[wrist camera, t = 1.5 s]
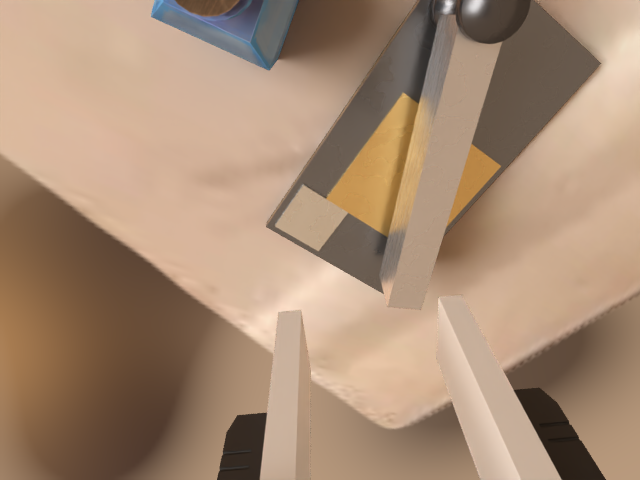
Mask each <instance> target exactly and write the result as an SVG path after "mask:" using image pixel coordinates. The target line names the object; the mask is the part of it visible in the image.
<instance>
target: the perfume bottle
mask: <svg viewBox="0 0 640 480" xmlns="http://www.w3.org/2000/svg"><path fill="white" fill-rule="evenodd" d="M298 2H299V0H154V5H153V9H152V14H151V17H153V18H155V19H157V20H159V21H162V22H164V23H166V24H168V25H170V26H173V27H175V28H177V29H179V30H181V31H183V32H186V33H188V34H190V35H192V36H194V37H197V38H199V39H201V40H203V41H205V42H208V43H210V44H212V45H214V46H216V47H219V48H221V49H223V50H225V51H227V52H229V53H232V54H234V55H236V56H238V57H240V58H243V59H245V60H247V61H249V62H251V63H254V64H256V65H258V66H260V67H262V68H265V69H267V70H270V69H271V68H272V66H273V65H274V64H275V62H276V61H277V60H278V57H279V54H280V52H281V49H282V46H283V43H284V41H285V38H286V35H287V32H288V30H289V27H290V24H291V21H292V18H293V16H294V13H295V10H296V7H297V5H298Z"/></svg>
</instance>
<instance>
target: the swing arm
mask: <svg viewBox="0 0 640 480" xmlns="http://www.w3.org/2000/svg"><path fill="white" fill-rule="evenodd" d="M530 3H531V0H457V3H456V9H455V15H440V16H439V20H438V24H437V29H436V33H435V37H434V42H433V46H432V50H431V55H430V59H429V63H428V67H427V72H426V76H425V80H424V85H423V89H422V93H421V98H420V102H419V106H418V111H417V115H416V119H415V123H414V128H413V132H412V136H411V141H410V145H409V149H408V154H407V158H406V162H405V166H404V171H403V175H402V179H401V184H400V188H399V192H398V197H397V201H396V205H395V209H394V214H393V218H392V222H391V227H390V231H389V235H388V240H387V244H386V248H385V252H384V257H383V261H382V265H381V270H380V274H379V277H380V280H381V284H382V288H383V292H384V296H385V300H386V304H387V307H394V308H404V309H415V310H421V309H422V305H423V302H424V299H425V295H426V292H427V289H428V285H429V282H430V279H431V276H432V272H433V269H434V266H435V262H436V259H437V256H438V252H439V249H440V246H441V242H442V239H443V236H444V233H445V229H446V226H447V223H448V219H449V216H450V213H451V209H452V206H453V203H454V199H455V196H456V193H457V190H458V186H459V183H460V180H461V176H462V173H463V170H464V166H465V163H466V160H467V156H468V153H469V150H470V147H471V143H472V140H473V137H474V133H475V130H476V127H477V123H478V120H479V117H480V113H481V110H482V107H483V104H484V100H485V97H486V94H487V90H488V87H489V84H490V80H491V77H492V74H493V70H494V67H495V64H496V61H497V57H498V54H499V51H500V47H501V44H502V41H504V40H506V39H508V38H509V37H511V36H512V35H513V34H515V33H516V32H517V31H518V30H519V28H520V27H521V26H522V24H523V23H524V21H525V19H526V17H527V15H528V12H529V8H530Z"/></svg>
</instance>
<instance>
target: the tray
mask: <svg viewBox="0 0 640 480" xmlns="http://www.w3.org/2000/svg"><path fill="white" fill-rule="evenodd" d="M456 3H457V0H417V2H416V3H415V5H414V6H413V8H412V9H411V11H410V12H409V14H408V15H407V17H406V18H405V20H404V21H403V23H402V24H401V25H400V27H399V28H398V30H397V31H396V33H395V34H394V36H393V37H392V39H391V40H390V42H389V43H388V45H387V46H386V48H385V49H384V51H383V52H382V53H381V55H380V56H379V58H378V59H377V61H376V62H375V64H374V65H373V67H372V68H371V70H370V71H369V73H368V74H367V76H366V77H365V78H364V80H363V81H362V83H361V84H360V86H359V87H358V89H357V90H356V92H355V93H354V95H353V96H352V98H351V99H350V101H349V102H348V104H347V105H346V106H345V108H344V109H343V111H342V112H341V114H340V115H339V117H338V118H337V120H336V121H335V123H334V124H333V126H332V127H331V129H330V130H329V132H328V133H327V134H326V136H325V137H324V139H323V140H322V142H321V143H320V145H319V146H318V148H317V149H316V151H315V152H314V154H313V155H312V157H311V158H310V160H309V161H308V162H307V164H306V165H305V167H304V168H303V170H302V171H301V173H300V174H299V176H298V177H297V179H296V180H295V182H294V183H293V185H292V186H291V188H290V189H289V190H288V192H287V193H286V195H285V196H284V198H283V199H282V201H281V202H280V204H279V205H278V207H277V208H276V210H275V211H274V213H273V214H272V216H271V217H270V218H269V220H268V221H267V224H266V227H267V228H269V229H271V230H273V231H274V232H276V233H278V234H280V235H281V236H283V237H285V238H287V239H288V240H290V241H292V242H294V243H295V244H297V245H299V246H301V247H302V248H304V249H306V250H308V251H309V252H311V253H313V254H315V255H316V256H318V257H320V258H322V259H323V260H325V261H327V262H329V263H330V264H332V265H334V266H336V267H337V268H339V269H341V270H343V271H344V272H346V273H348V274H350V275H351V276H353V277H355V278H357V279H358V280H360V281H362V282H364V283H365V284H367V285H369V286H371V287H372V288H374V289H376V290H378V291H379V292H381V293H383V294H384V292H383V288H382V284H381V280H380V277H379V274H380V270H381V265H382V261H383V257H384V252H385V248H386V244H387V240H388V235H389V231H390V227H391V222H392V218H393V214H394V209H395V205H396V201H397V197H398V192H399V188H400V184H401V179H402V175H403V171H404V166H405V162H406V158H407V154H408V149H409V145H410V141H411V136H412V132H413V128H414V123H415V119H416V115H417V111H418V106H419V102H420V98H421V93H422V89H423V85H424V80H425V76H426V72H427V67H428V63H429V59H430V55H431V50H432V46H433V42H434V37H435V33H436V29H437V24H438V20H439V16H440V15H455V9H456ZM600 64H601V63H600V62H599V61H598V60H597V59H596V58H595V57H594V56H593V55H592V54H591V53H589V52H588V51H587V50H586V49H585V48H584V47H583V46H582V45H581V44H580V43H579V42H578V41H577V40H576V39H575V38H573V37H572V36H571V35H570V34H569V33H568V32H567V31H566V30H565V29H564V28H563V27H562V26H561V25H560V24H558V23H557V22H556V21H555V20H554V19H553V18H552V17H551V16H550V15H549V14H548V13H547V12H546V11H545V10H544V9H542V8H541V7H540V6H539V5H538V4H537V3H536V2H535V1H534V0H531V3H530V8H529V12H528V15H527V17H526V19H525V21H524V23H523V24H522V26H521V27H520V28H519V30H518V31H517V32H516V33H515V34H513V35H512V36H511V37H509V38H508V39H506V40H504V41H502V44H501V47H500V51H499V54H498V57H497V61H496V64H495V67H494V70H493V74H492V77H491V80H490V84H489V87H488V90H487V94H486V97H485V100H484V104H483V107H482V110H481V113H480V117H479V120H478V123H477V127H476V130H475V133H474V137H473V140H472V143H471V147H470V150H469V153H468V156H467V160H466V163H465V166H464V170H463V173H462V176H461V180H460V183H459V186H458V190H457V193H456V196H455V199H454V203H453V206H452V209H451V213H450V216H449V219H448V223H447V226H446V229H445V233H444V236H445V235H446V233H447V232H448V231H449V230H450V229H451V228H452V227H453V226H454V225H455V224H456V222H457V221H458V220H459V219H460V218H461V217H462V216H463V215H464V214H465V213H466V211H467V210H468V209H469V208H470V207H471V206H472V205H473V204H474V203H475V202H476V200H477V199H478V198H479V197H480V196H481V195H482V194H483V193H484V192H485V191H486V189H487V188H488V187H489V186H490V185H491V184H492V183H493V182H494V181H495V180H496V178H497V177H498V176H499V175H500V174H501V173H502V172H503V171H504V170H505V169H506V167H507V166H508V165H509V164H510V163H511V162H512V161H513V160H514V159H515V158H516V156H517V155H518V154H519V153H520V152H521V151H522V150H523V149H524V148H525V147H526V145H527V144H528V143H529V142H530V141H531V140H532V139H533V138H534V137H535V136H536V134H537V133H538V132H539V131H540V130H541V129H542V128H543V127H544V126H545V125H546V123H547V122H548V121H549V120H550V119H551V118H552V117H553V116H554V115H555V114H556V112H557V111H558V110H559V109H560V108H561V107H562V106H563V105H564V104H565V103H566V102H567V100H568V99H569V98H570V97H571V96H572V95H573V94H574V93H575V92H576V91H577V89H578V88H579V87H580V86H581V85H582V84H583V83H584V82H585V81H586V80H587V78H588V77H589V76H590V75H591V74H592V73H593V72H594V71H595V70H596V69H597V67H598V66H599V65H600ZM444 236H443V237H444Z"/></svg>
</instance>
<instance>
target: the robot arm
mask: <svg viewBox="0 0 640 480" xmlns="http://www.w3.org/2000/svg"><path fill="white" fill-rule="evenodd" d="M436 359H437V362H438V364H439V367H440V370H441V373H442V375H443V378H444V381H445V384H446V386H447V389H448V392H449V395H450V397H451V400H452V403H453V406H454V408H455V411H456V414H457V417H458V419H459V422H460V425H461V428H462V430H463V433H464V436H465V439H466V441H467V444H468V447H469V450H470V452H471V455H472V458H473V460H474V463H475V466H476V469H477V472H478V474H479V477H480V480H606V479H605V477H604V476H603V474H602V473H601V471H600V470H599V468H598V466H597V465H596V463H595V462H594V460H593V459H592V457H591V455H590V454H589V452H588V451H587V449H586V448H585V446H584V444H583V443H582V441H580V440H579V437H578V435H577V433H576V432H575V430H574V429H573V427H572V425H570V424H569V421H568V419H567V418H566V416H565V414H564V413H563V411H562V410H561V408H560V406H559V405H558V403H557V402H556V401H554V400H553V399H552V398H551V397H550V396H549V395H547V394H546V393H545V392H544V391H543V390H541V389H540V388H531V389H520V390H513V389H512V387H511V385H510V383H509V381H508V379H507V377H506V375H505V374H504V372H503V370H502V368H501V366H500V364H499V362H498V361H497V359H496V357H495V355H494V353H493V351H492V349H491V348H490V346H489V344H488V342H487V340H486V338H485V336H484V335H483V333H482V331H481V329H480V327H479V325H478V323H477V322H476V320H475V318H474V316H473V314H472V312H471V310H470V309H469V307H468V305H467V303H466V301H465V299H464V297H463V296H462V295H452V296H442V297H439V301H438V329H437V357H436ZM310 402H311V369H310V363H309V356H308V350H307V344H306V337H305V331H304V325H303V319H302V312H301V310H296V311H286V312H278V320H277V329H276V338H275V347H274V356H273V366H272V375H271V383H270V393H269V402H268V410H267V413H258V414H248V415H237V417H236V419H235V420H234V422H233V423H232V425H231V427H230V428H229V430H228V431H227V434H226V439H225V444H224V448H223V456H222V459H221V463H220V471H219V473H218V478H217V480H310V452H311V450H310V447H311V445H310V444H311V443H310V442H311V435H310V434H311V432H310V431H311V428H310V427H311V426H310V424H311V423H310V422H311V420H310V419H311V409H310V408H311V403H310Z"/></svg>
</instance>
